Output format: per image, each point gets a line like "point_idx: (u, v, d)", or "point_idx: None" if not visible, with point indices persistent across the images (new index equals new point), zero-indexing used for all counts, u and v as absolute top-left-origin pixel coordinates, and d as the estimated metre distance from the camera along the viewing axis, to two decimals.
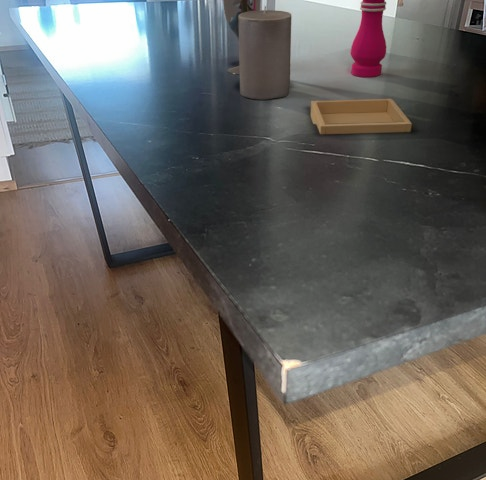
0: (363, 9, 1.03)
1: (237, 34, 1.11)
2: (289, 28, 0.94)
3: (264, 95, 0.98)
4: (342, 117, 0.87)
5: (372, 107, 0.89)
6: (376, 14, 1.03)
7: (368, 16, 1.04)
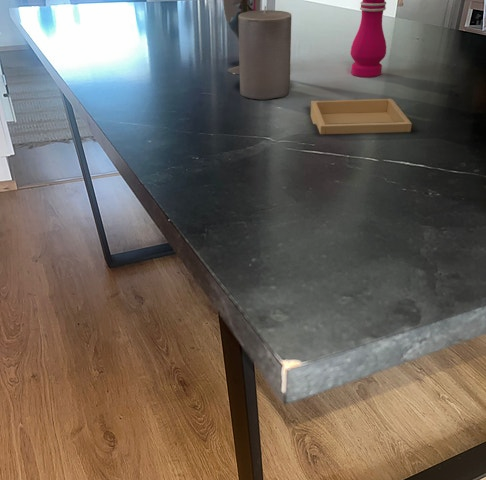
0: (363, 9, 1.03)
1: (237, 34, 1.11)
2: (289, 28, 0.94)
3: (264, 95, 0.98)
4: (342, 117, 0.87)
5: (372, 107, 0.89)
6: (376, 14, 1.03)
7: (367, 16, 1.04)
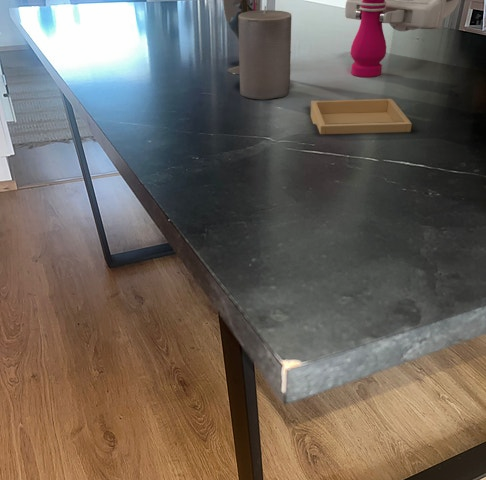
0: (363, 9, 1.03)
1: (237, 34, 1.11)
2: (289, 28, 0.94)
3: (264, 95, 0.98)
4: (342, 117, 0.87)
5: (372, 107, 0.89)
6: (376, 14, 1.03)
7: (367, 16, 1.04)
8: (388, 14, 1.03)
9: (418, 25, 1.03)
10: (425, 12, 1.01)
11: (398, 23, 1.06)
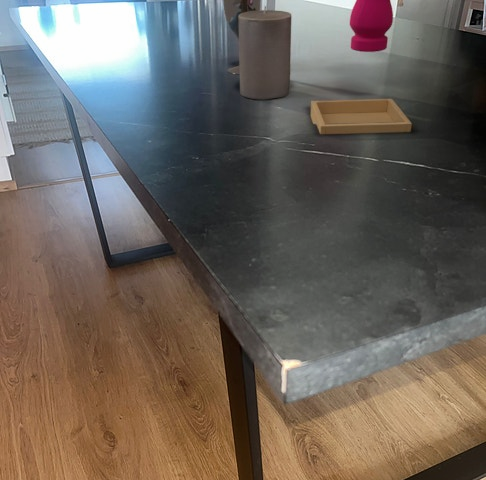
0: None
1: (237, 34, 1.11)
2: (289, 28, 0.94)
3: (264, 95, 0.98)
4: (342, 117, 0.87)
5: (372, 107, 0.89)
6: None
7: None
8: None
9: None
10: None
11: None
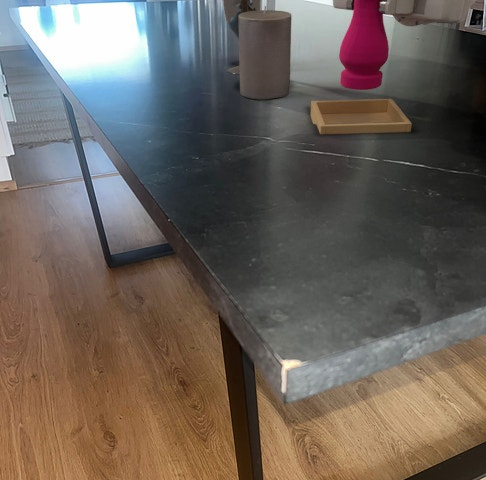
0: None
1: (237, 34, 1.11)
2: (289, 28, 0.94)
3: (264, 95, 0.98)
4: (342, 117, 0.87)
5: (372, 107, 0.89)
6: (375, 2, 0.73)
7: (363, 4, 0.73)
8: (392, 2, 0.72)
9: (434, 18, 0.73)
10: None
11: (406, 15, 0.75)
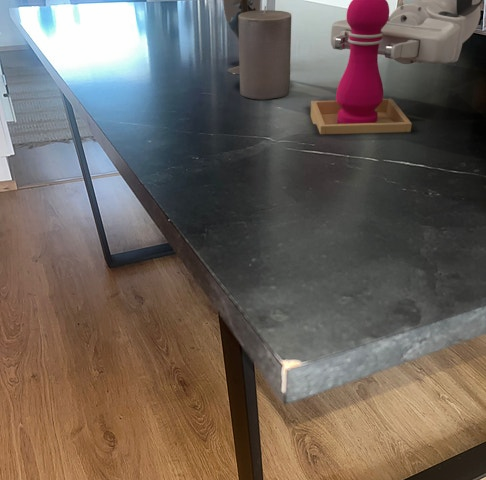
0: (352, 42, 0.77)
1: (237, 34, 1.11)
2: (289, 28, 0.94)
3: (264, 95, 0.98)
4: None
5: None
6: (370, 49, 0.76)
7: (358, 51, 0.77)
8: (397, 47, 0.74)
9: (428, 60, 0.76)
10: (438, 43, 0.74)
11: None
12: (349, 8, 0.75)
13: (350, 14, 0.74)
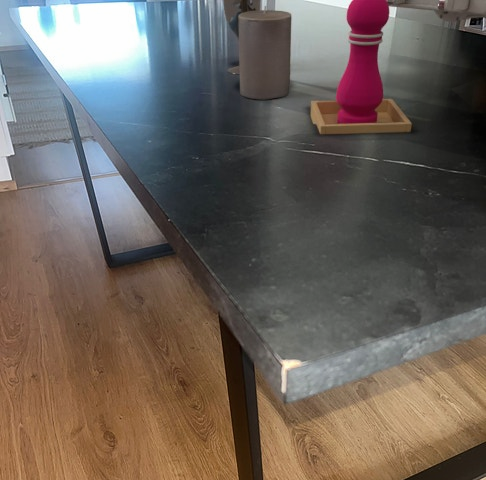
0: (352, 42, 0.77)
1: (237, 34, 1.11)
2: (289, 28, 0.94)
3: (264, 95, 0.98)
4: None
5: None
6: (370, 49, 0.76)
7: (358, 51, 0.77)
8: None
9: (479, 12, 0.80)
10: None
11: (451, 10, 0.83)
12: (349, 8, 0.75)
13: (350, 14, 0.74)
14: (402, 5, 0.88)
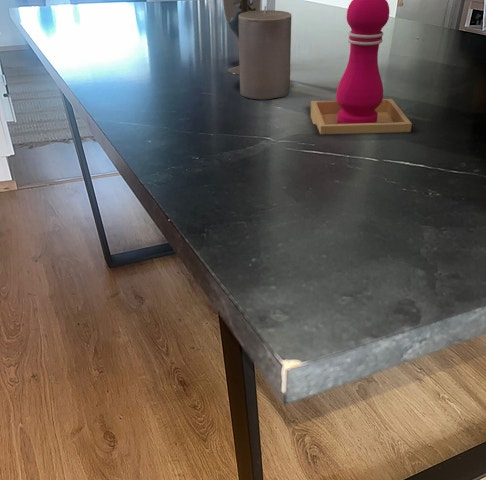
0: (352, 42, 0.77)
1: (237, 34, 1.11)
2: (289, 28, 0.94)
3: (264, 95, 0.98)
4: None
5: None
6: (370, 49, 0.76)
7: (358, 51, 0.77)
8: None
9: None
10: None
11: None
12: (349, 8, 0.75)
13: (350, 14, 0.74)
14: None
